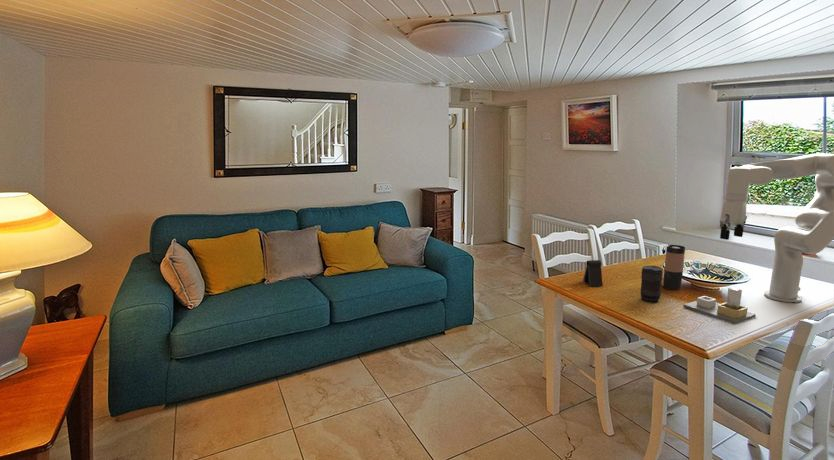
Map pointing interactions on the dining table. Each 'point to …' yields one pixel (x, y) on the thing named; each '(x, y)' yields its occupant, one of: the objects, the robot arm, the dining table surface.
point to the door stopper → (593, 273)
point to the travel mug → (674, 267)
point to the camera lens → (651, 283)
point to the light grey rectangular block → (734, 298)
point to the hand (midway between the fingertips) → (731, 237)
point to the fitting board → (719, 310)
